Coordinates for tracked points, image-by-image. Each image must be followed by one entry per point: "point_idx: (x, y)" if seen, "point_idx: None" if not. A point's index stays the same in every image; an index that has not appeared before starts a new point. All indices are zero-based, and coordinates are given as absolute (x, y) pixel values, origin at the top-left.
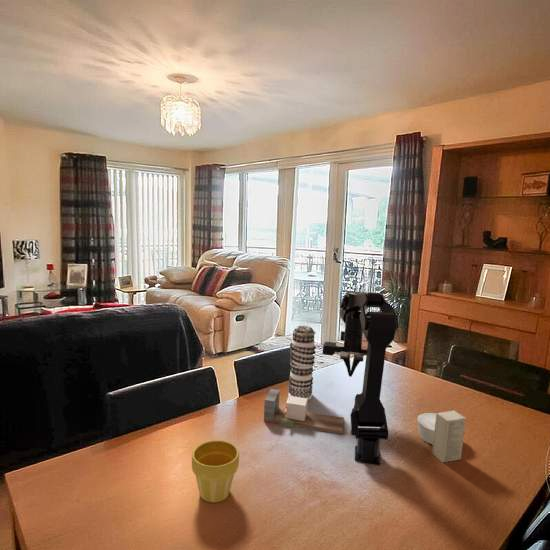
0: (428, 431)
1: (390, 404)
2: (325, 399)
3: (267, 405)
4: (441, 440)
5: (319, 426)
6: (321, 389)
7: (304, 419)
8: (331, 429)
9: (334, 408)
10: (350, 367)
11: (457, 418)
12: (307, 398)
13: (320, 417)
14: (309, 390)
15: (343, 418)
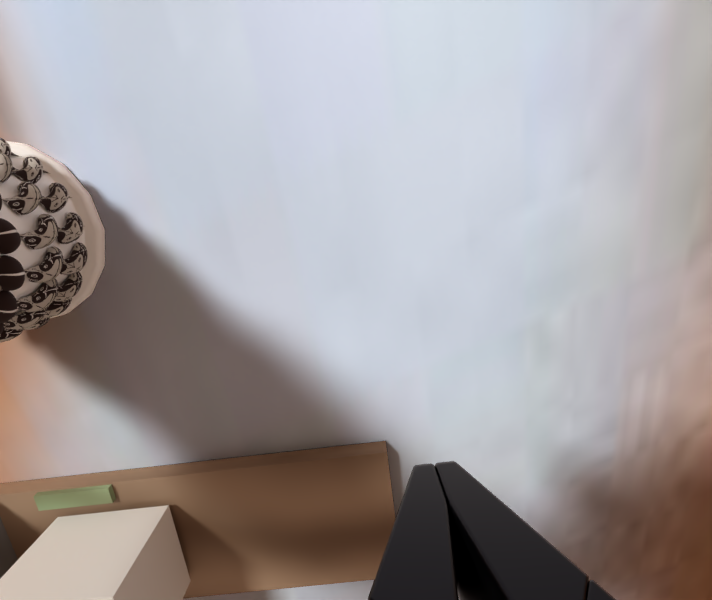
0: None
1: (706, 66)
2: (207, 215)
3: None
4: None
5: (279, 583)
6: (115, 35)
7: (186, 589)
8: (344, 580)
9: (302, 321)
10: (455, 572)
11: None
12: (112, 596)
13: (257, 503)
14: (47, 260)
15: (386, 464)
